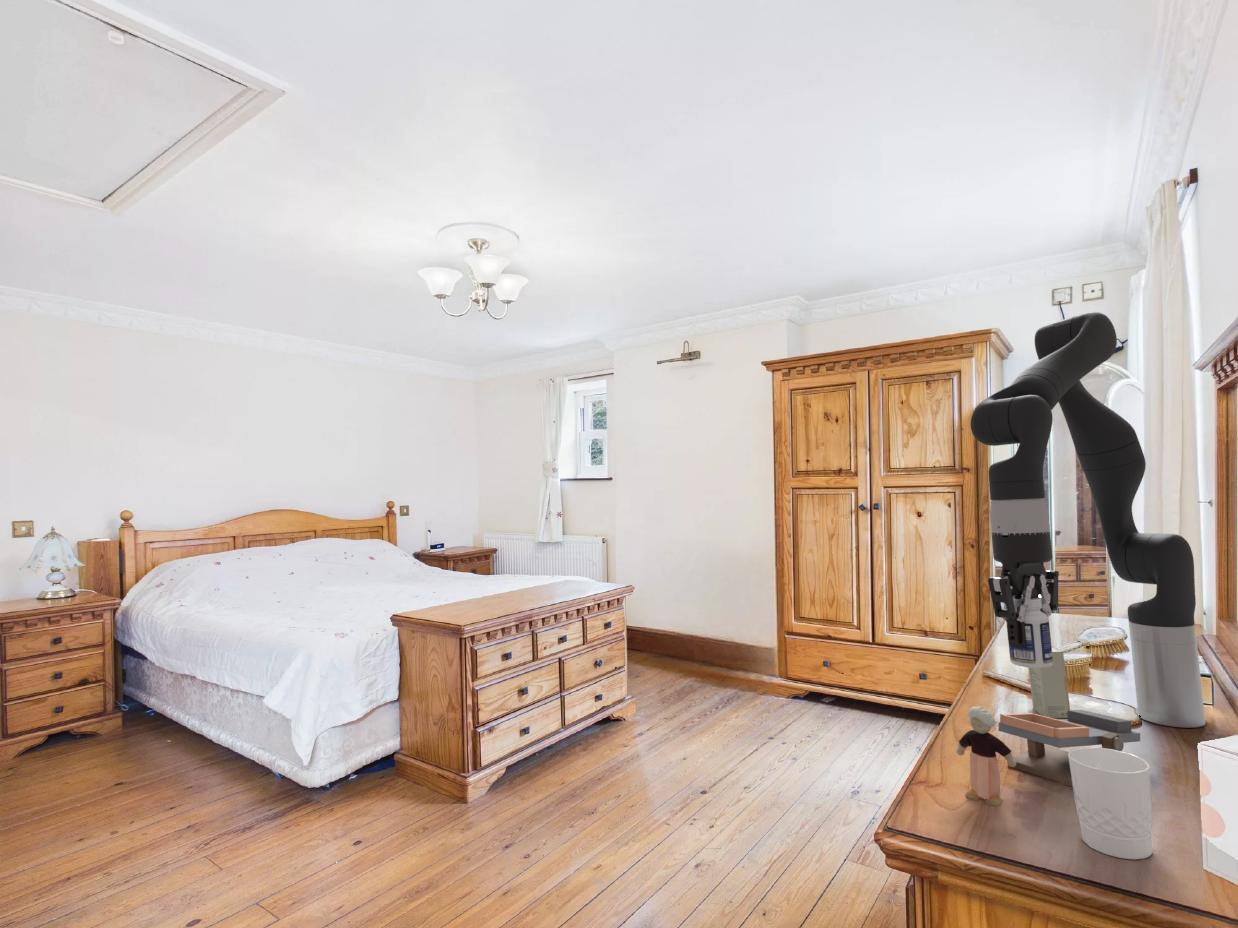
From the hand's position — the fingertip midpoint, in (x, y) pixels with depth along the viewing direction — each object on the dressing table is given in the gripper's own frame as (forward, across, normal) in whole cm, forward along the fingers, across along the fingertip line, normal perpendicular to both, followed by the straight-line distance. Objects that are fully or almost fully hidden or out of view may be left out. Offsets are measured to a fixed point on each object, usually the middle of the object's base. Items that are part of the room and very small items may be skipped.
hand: (1029, 643), depth 96 cm
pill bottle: (+3, 0, 0) cm, 3 cm away
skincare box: (+20, -30, -15) cm, 39 cm away
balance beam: (+14, -7, +1) cm, 15 cm away
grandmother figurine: (+20, +11, -1) cm, 23 cm away
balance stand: (+20, -7, +1) cm, 21 cm away
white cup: (+20, +10, +14) cm, 27 cm away
